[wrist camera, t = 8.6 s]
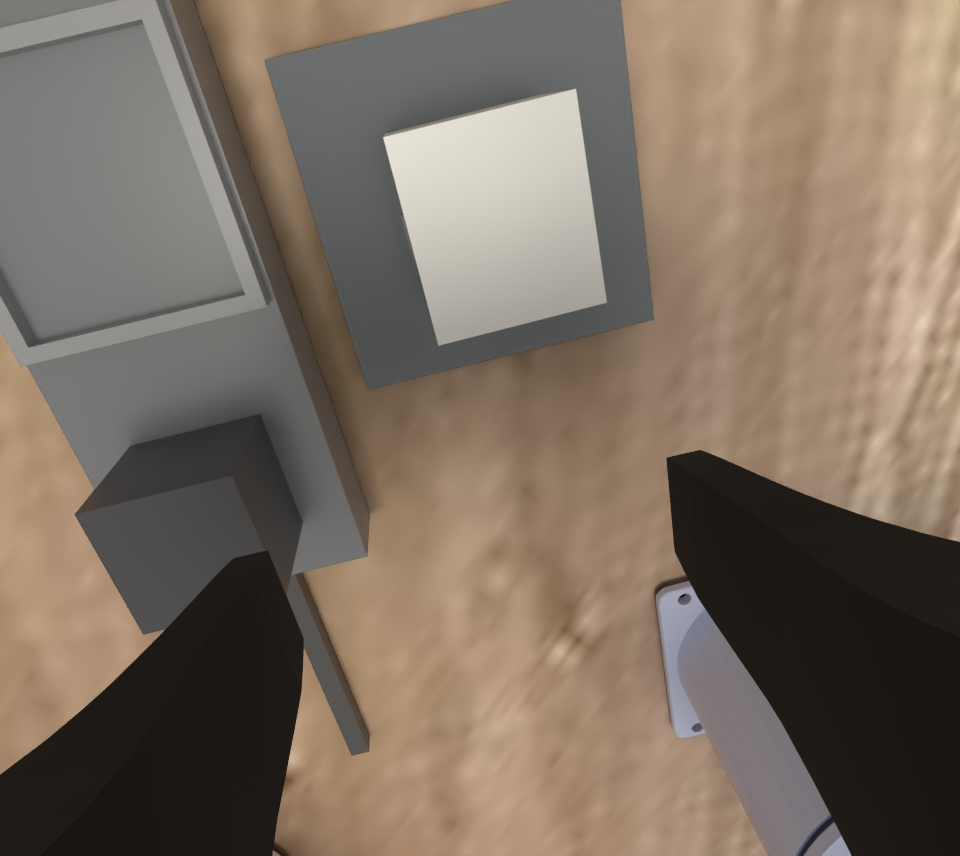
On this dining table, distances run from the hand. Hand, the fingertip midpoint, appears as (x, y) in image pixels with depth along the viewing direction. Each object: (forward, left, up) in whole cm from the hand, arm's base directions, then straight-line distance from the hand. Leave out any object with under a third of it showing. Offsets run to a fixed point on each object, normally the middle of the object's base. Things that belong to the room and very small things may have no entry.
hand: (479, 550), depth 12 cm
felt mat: (-2, -5, -10) cm, 11 cm away
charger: (-2, -5, -9) cm, 11 cm away
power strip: (+7, 0, -10) cm, 12 cm away
